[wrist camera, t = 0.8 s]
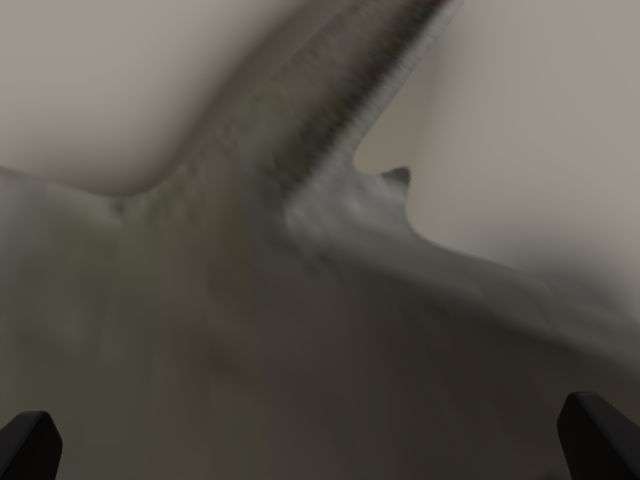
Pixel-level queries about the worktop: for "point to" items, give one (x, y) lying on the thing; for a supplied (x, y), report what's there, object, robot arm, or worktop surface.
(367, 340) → the worktop surface
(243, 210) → the worktop surface
